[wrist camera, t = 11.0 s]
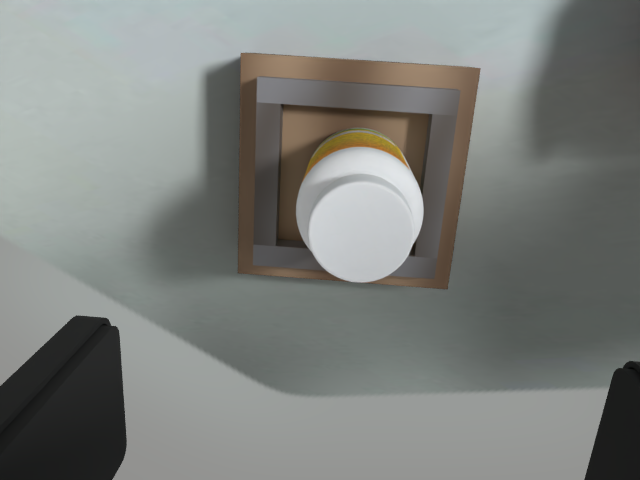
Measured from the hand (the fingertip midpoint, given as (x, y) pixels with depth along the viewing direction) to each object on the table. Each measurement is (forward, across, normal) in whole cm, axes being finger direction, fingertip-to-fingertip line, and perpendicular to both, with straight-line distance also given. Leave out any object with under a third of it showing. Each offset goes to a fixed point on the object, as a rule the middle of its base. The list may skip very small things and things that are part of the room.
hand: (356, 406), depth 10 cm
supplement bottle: (+20, 0, 0) cm, 20 cm away
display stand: (+23, 0, 0) cm, 23 cm away
